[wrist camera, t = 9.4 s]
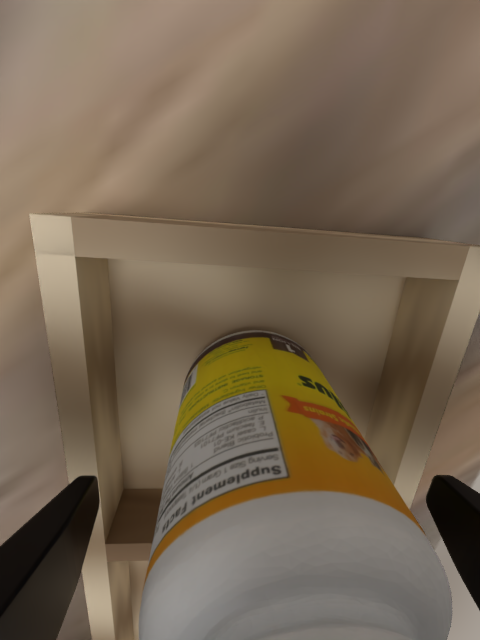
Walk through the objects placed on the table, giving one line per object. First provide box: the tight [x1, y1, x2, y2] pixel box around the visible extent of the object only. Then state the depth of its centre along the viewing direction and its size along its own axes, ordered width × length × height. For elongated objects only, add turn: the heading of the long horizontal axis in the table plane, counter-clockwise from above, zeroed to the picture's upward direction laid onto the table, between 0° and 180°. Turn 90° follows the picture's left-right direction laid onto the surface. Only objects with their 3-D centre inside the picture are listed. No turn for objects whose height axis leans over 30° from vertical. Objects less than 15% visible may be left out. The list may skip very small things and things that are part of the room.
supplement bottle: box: [139, 330, 452, 640], centre depth 8 cm, size 6×6×10 cm
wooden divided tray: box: [29, 213, 480, 640], centre depth 14 cm, size 25×13×4 cm, turn 176°
